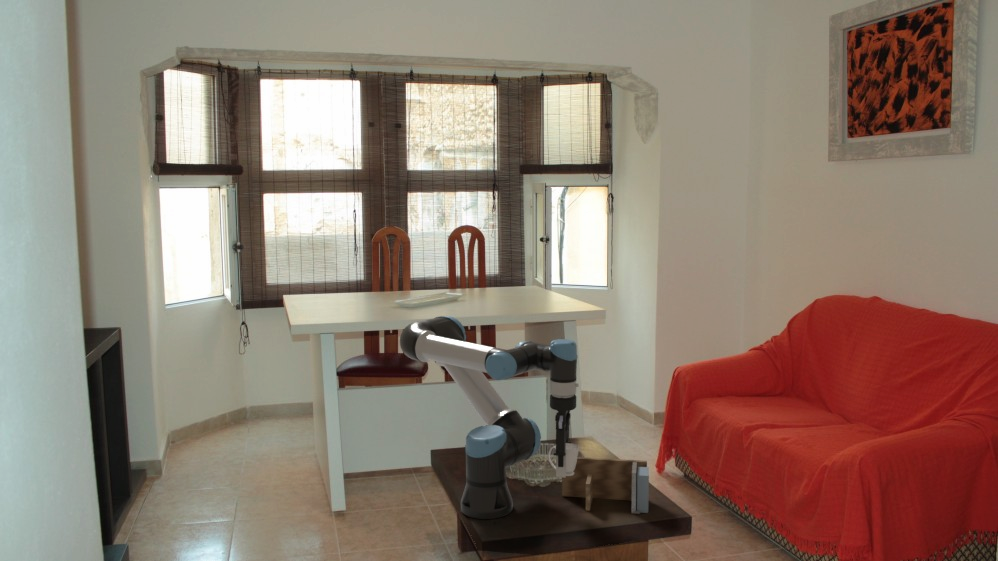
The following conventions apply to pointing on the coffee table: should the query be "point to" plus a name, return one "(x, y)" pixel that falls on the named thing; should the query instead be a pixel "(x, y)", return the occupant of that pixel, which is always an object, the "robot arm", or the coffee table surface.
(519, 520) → the coffee table surface
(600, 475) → the shelf wall
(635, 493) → the bookend
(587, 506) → the divider
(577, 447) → the cup
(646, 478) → the shelved book
